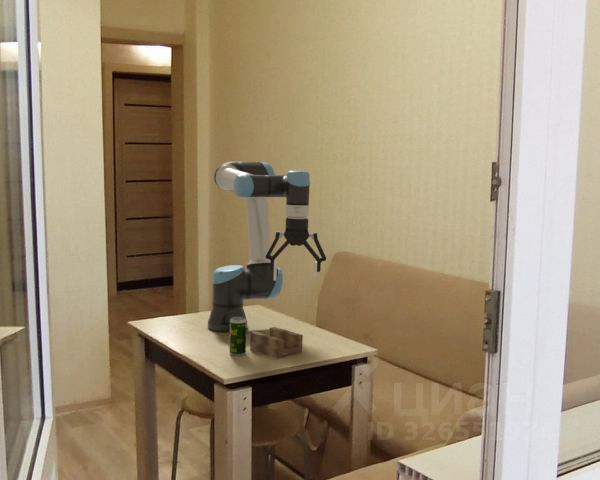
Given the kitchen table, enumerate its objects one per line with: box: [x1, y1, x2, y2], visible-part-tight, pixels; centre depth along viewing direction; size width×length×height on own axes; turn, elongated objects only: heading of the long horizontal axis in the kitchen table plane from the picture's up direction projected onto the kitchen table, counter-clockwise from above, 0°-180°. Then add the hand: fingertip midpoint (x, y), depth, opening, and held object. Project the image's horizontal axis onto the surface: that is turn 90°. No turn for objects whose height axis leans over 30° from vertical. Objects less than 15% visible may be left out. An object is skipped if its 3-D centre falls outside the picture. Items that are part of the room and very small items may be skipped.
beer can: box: [229, 317, 247, 357], centre depth 227 cm, size 5×5×12 cm
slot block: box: [249, 326, 304, 360], centre depth 232 cm, size 14×11×6 cm
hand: (295, 280), depth 230 cm, fingers open, 13 cm apart
